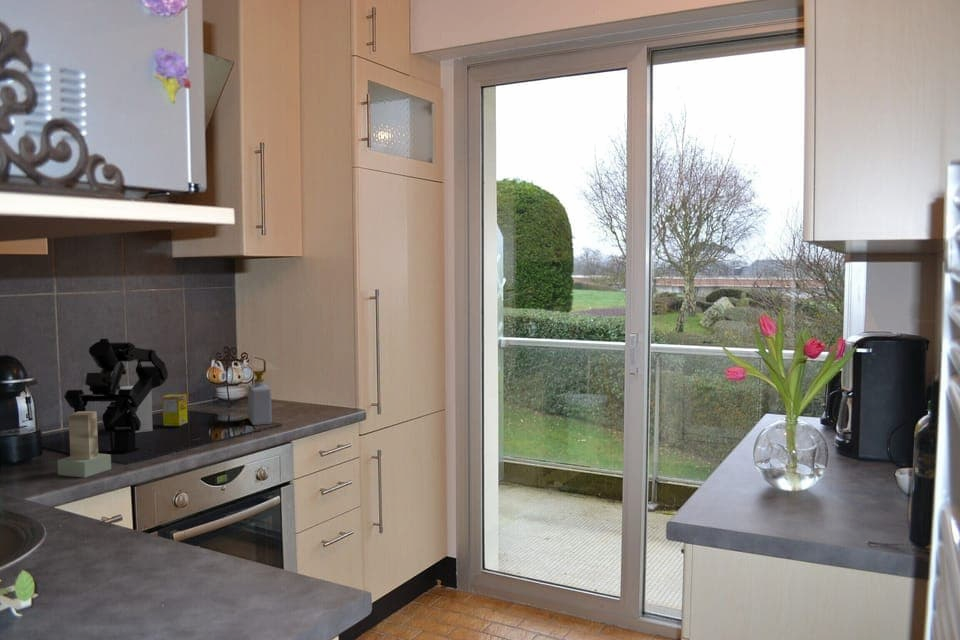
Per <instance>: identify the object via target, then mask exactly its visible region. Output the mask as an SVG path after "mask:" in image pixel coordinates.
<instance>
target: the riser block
mask: <svg viewBox="0 0 960 640" xmlns="http://www.w3.org/2000/svg"><path fill="white" fill-rule="evenodd" d="M109 470H112V454H108V453H99V452H98V455H97V456H95V457H93V458H91V459H85V460H70V456H67V457H62V458H59V459H57V475H58V476H65V477H75V478H87V477H91V476H95V475H97V474H99V473H103V472H107V471H109Z"/></svg>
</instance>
